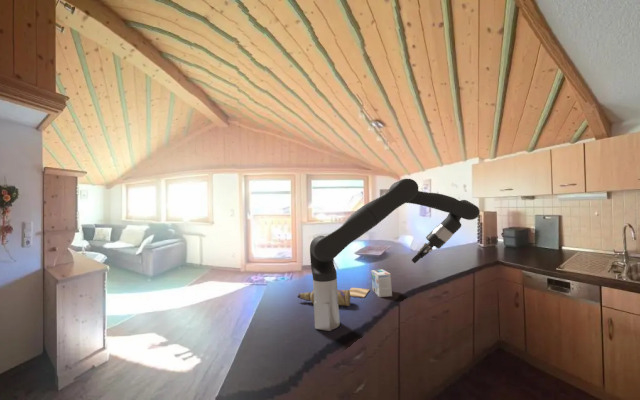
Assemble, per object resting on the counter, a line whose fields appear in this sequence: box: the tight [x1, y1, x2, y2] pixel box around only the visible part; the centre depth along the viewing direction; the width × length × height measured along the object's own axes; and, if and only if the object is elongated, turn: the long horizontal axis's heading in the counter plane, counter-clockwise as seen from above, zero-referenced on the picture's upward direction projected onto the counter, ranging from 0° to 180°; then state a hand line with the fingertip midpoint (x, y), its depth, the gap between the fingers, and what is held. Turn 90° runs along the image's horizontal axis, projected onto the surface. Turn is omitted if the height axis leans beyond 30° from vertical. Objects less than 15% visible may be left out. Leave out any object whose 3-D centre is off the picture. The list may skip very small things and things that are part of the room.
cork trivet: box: [348, 287, 371, 299], centre depth 122 cm, size 12×10×1 cm
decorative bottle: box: [297, 289, 351, 307], centre depth 111 cm, size 26×8×7 cm, turn 72°
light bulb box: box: [370, 268, 393, 298], centre depth 120 cm, size 11×7×11 cm, turn 6°
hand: (413, 261), depth 114 cm, fingers closed
